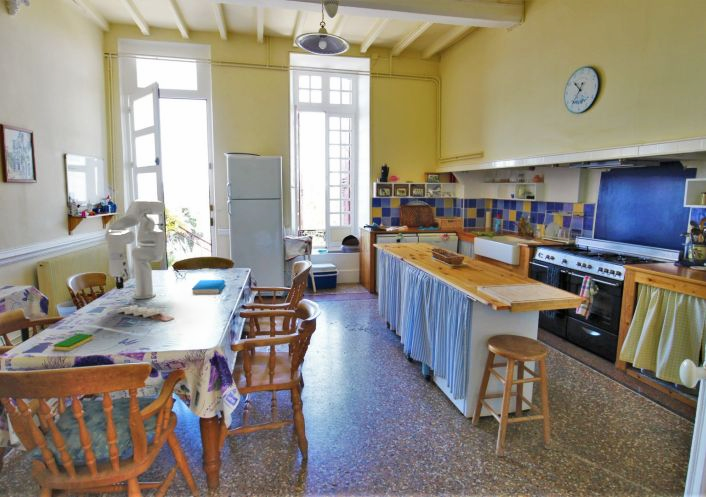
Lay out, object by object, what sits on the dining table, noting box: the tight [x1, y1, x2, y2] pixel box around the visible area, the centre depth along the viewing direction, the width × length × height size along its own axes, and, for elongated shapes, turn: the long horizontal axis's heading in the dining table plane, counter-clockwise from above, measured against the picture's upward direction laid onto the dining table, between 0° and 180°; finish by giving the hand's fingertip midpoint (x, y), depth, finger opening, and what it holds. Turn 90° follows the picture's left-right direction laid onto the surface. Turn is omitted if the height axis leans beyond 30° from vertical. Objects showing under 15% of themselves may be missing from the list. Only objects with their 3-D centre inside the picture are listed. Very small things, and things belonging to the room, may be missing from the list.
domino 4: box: [143, 308, 165, 317], centre depth 212 cm, size 2×5×10 cm
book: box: [191, 279, 226, 295], centre depth 277 cm, size 17×4×25 cm
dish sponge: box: [53, 333, 94, 351], centre depth 178 cm, size 7×14×2 cm, turn 173°
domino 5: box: [151, 312, 175, 322], centre depth 211 cm, size 2×5×10 cm
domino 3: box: [133, 307, 156, 316], centre depth 215 cm, size 2×5×10 cm
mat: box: [106, 310, 155, 322], centre depth 217 cm, size 30×11×1 cm, turn 69°
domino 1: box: [115, 304, 139, 313], centre depth 219 cm, size 2×5×10 cm
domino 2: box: [125, 306, 147, 314], centre depth 217 cm, size 2×5×10 cm
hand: (120, 288), depth 225 cm, fingers closed
